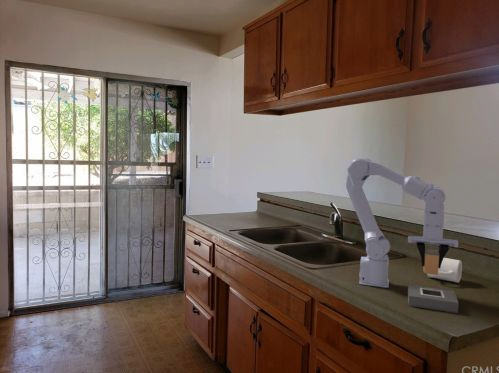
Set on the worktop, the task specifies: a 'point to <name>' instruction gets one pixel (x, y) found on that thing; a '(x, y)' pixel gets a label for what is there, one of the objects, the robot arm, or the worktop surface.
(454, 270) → the mug
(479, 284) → the worktop surface
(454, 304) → the socket block
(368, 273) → the robot arm
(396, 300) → the worktop surface
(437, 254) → the plug
